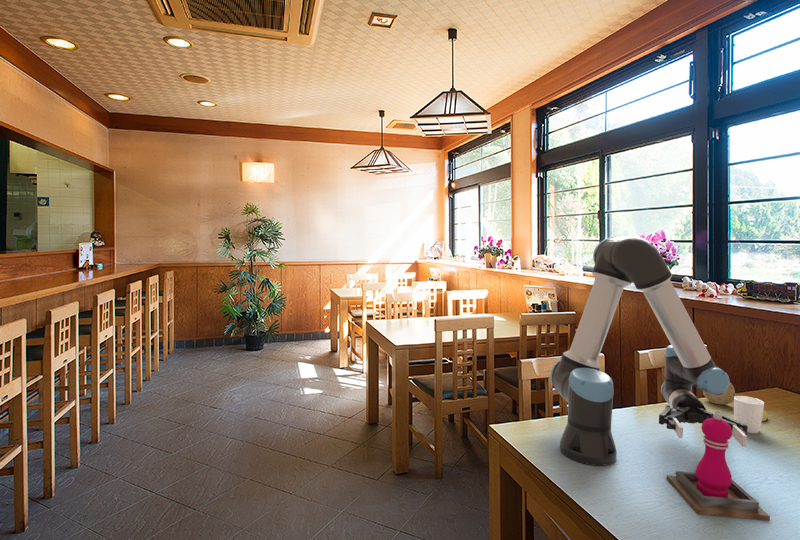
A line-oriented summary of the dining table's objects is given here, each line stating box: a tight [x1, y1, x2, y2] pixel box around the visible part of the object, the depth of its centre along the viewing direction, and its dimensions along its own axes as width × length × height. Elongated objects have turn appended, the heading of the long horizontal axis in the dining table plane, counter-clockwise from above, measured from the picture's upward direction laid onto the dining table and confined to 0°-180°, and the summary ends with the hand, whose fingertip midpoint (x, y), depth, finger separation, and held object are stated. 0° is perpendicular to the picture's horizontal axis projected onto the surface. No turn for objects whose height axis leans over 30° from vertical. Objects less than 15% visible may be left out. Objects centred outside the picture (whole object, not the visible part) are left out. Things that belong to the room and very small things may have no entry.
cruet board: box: [666, 470, 771, 521], centre depth 108 cm, size 15×15×3 cm
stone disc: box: [702, 381, 736, 405], centre depth 171 cm, size 10×4×10 cm, turn 39°
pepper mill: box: [694, 412, 733, 498], centre depth 107 cm, size 7×7×20 cm
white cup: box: [733, 395, 765, 434], centre depth 148 cm, size 8×8×10 cm
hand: (712, 437), depth 111 cm, fingers open, 13 cm apart
